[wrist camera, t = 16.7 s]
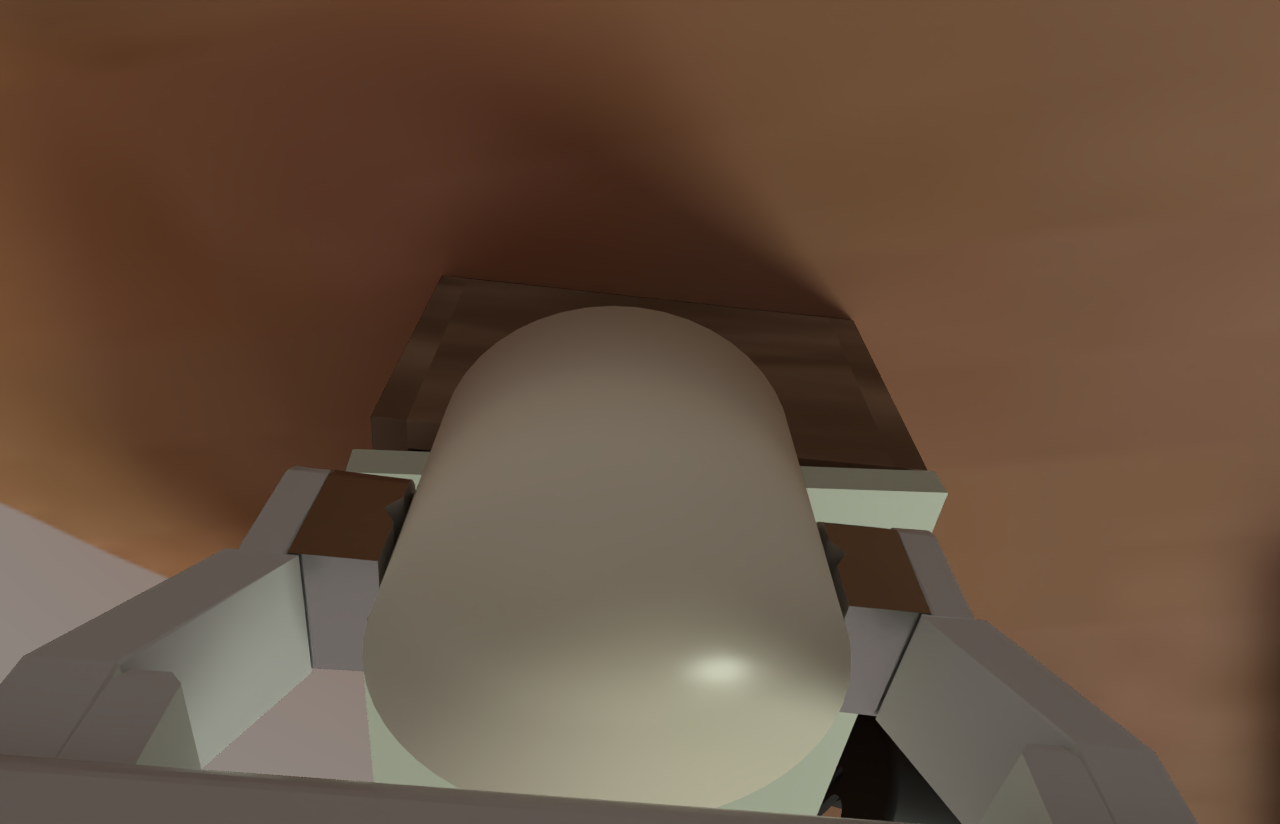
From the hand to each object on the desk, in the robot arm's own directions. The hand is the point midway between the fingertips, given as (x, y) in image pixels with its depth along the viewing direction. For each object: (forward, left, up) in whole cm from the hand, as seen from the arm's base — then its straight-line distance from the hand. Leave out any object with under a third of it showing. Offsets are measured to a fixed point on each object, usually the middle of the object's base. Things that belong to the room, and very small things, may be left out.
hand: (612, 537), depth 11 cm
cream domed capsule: (0, 0, -2) cm, 2 cm away
